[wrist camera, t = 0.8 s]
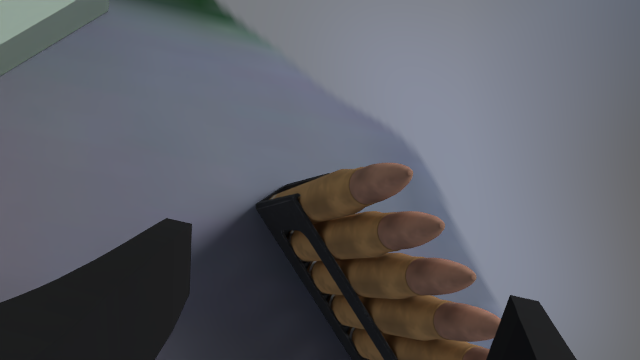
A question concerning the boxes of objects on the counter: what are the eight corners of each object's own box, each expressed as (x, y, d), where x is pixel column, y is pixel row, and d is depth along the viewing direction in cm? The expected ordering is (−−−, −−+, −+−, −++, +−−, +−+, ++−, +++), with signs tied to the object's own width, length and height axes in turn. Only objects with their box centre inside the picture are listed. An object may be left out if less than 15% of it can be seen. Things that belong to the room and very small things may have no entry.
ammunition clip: (253, 205, 27) (368, 160, 16) (286, 184, 28) (416, 127, 17) (376, 397, 28) (564, 479, 17) (404, 372, 29) (602, 435, 18)
